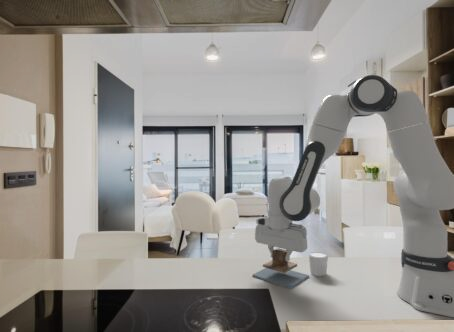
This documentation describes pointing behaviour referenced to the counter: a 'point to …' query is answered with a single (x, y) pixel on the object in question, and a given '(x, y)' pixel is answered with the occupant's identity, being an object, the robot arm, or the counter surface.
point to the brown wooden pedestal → (279, 262)
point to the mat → (281, 277)
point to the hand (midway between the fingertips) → (280, 259)
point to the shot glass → (318, 263)
